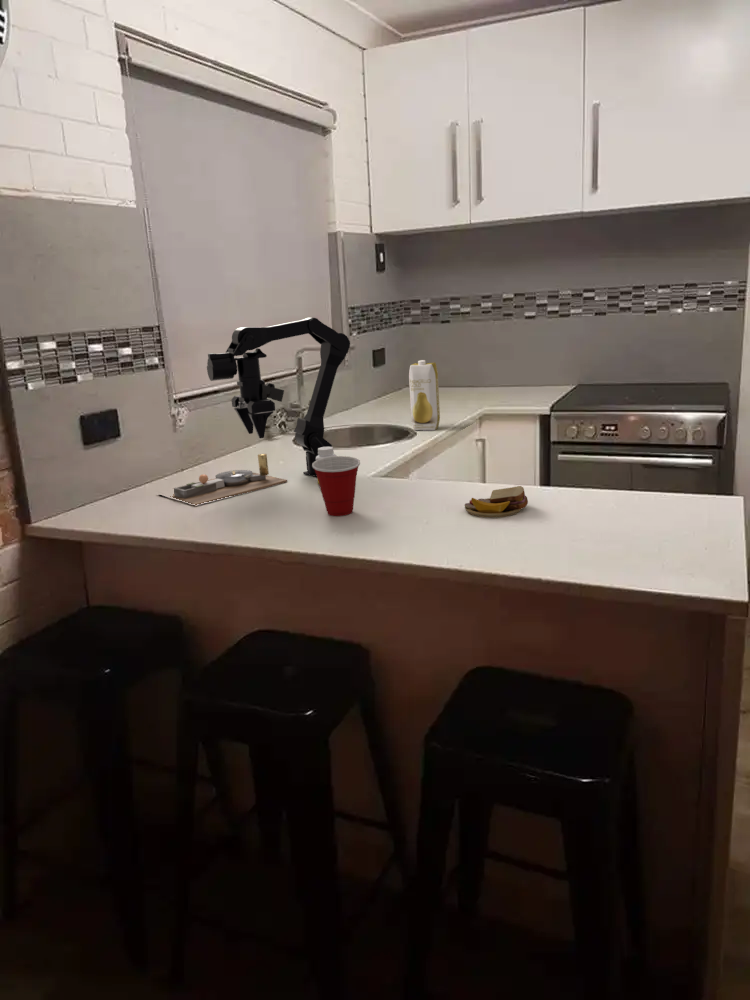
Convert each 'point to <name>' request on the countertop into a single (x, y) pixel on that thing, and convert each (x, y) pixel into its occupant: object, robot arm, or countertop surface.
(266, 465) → the wheel
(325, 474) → the plastic cup
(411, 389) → the juice carton
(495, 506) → the toy sandwich meal
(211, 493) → the wooden base board
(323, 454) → the supplement bottle
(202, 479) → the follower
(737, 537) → the countertop surface
